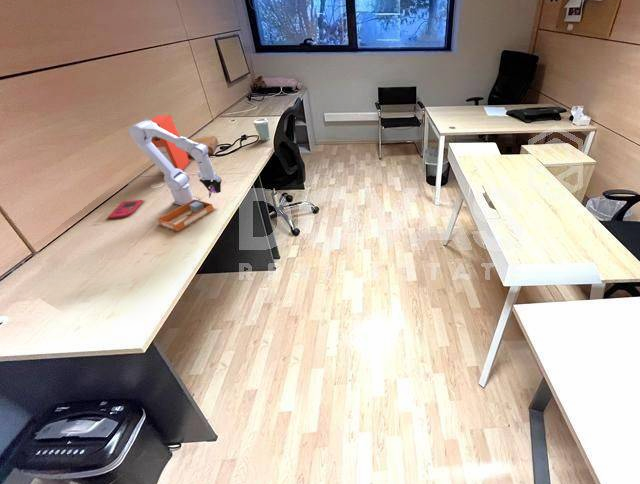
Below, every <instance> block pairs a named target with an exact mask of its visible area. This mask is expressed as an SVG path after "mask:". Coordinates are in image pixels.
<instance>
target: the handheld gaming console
mask: <svg viewBox="0 0 640 484" xmlns="http://www.w3.org/2000/svg"><path fill="white" fill-rule="evenodd" d="M142 203H144V202H143V200H142V199H135V200H125V201H122V202H121V203H120V204H119V205H118V206H117V207H116V208H115V209H114V210H113V211H112V212H111V213H110V214H109V215H108V216H107V218H108V219H110V220H111V219H120V218H121V219H122V218H126V217H129V216H131V215H133V214H134V213H135V211H136V210H137V209H138V208H139V207H140V206H141V205H142Z"/></svg>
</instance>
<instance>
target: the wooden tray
mask: <svg viewBox="0 0 640 484" xmlns="http://www.w3.org/2000/svg"><path fill="white" fill-rule="evenodd" d="M196 201H197V202H200V203H203V205H204V207H205V208H204V209H202V210H200V211H199V212H197V213H195V212H192V211H191V208H190V206H189V205H190V204H192V203H194V202H196ZM214 210H215V208H214V205H213V204H212V203H208V202H205V201H202V200H196V199H194V200H192V201H190V202H189V203H187V204H185V205H183V206H182V205H180V206H179V207H177V208H175V209H173V210H172V211H170V212H168V213H166V214H164V215H162V216H160V217H158V218H157V222H158V224H159V226H162V227H165V228H167V229H170V230H173V231H176V232H180V230H182V229H184V228H185V227H188V226H189V225H191V224H192V223H194V222H196V221H198V220H200V219H201V218H203V217H204V216H206V215H208V214H210V213H211V212H212V211H214ZM187 215H188V217H186V218H185V219H182V220H181V221H179V222H178V223H176V224H174V222H176V221H177V220H179V219H181V218H183V217H185V216H187Z"/></svg>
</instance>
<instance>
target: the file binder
mask: <svg viewBox="0 0 640 484" xmlns="http://www.w3.org/2000/svg"><path fill="white" fill-rule="evenodd" d="M149 120H150V121H152V122H154V123H156V124H157V125H158V127H160V128H162V129H164V130H166V131H168V132H169V133H171V134H173V135H175V136H177V137H180V134H179V132H178V130H177V127H176V125H175V123H174V120H173V117H172V115H171V114H165V115H164V114H163V115H156V116H155V117H153V118H152V119H149ZM151 142H152V143H153V144H154V146H155V147H156V148H157V149H158V150H159V151H160V152H161V153H162V154H163V155H164V157H165V158H166V159H167V160H168V161H169V162H170V163H171V164H172V165H173V166H174V168H176V169H181V170H182V171H184V169H185V168H186V167H187V166H188V165H189V164H190V159H189V157H188V156H187V154H186V152H185V151H184V150H182V149H180V148H178V147H176V145H175V143H172V142H170V141H167V140H165V139H162V138H159V137H157V136H155V137H152V139H151Z"/></svg>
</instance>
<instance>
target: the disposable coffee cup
mask: <svg viewBox="0 0 640 484" xmlns="http://www.w3.org/2000/svg"><path fill="white" fill-rule="evenodd" d="M253 125H254V128H255V130H256V133H257V134H258V137H259V139H260V140H261V141H268V140H270V130H269V128H270V127H269V121H268V120H267V118H257V119H255V120H254V121H253Z"/></svg>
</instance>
